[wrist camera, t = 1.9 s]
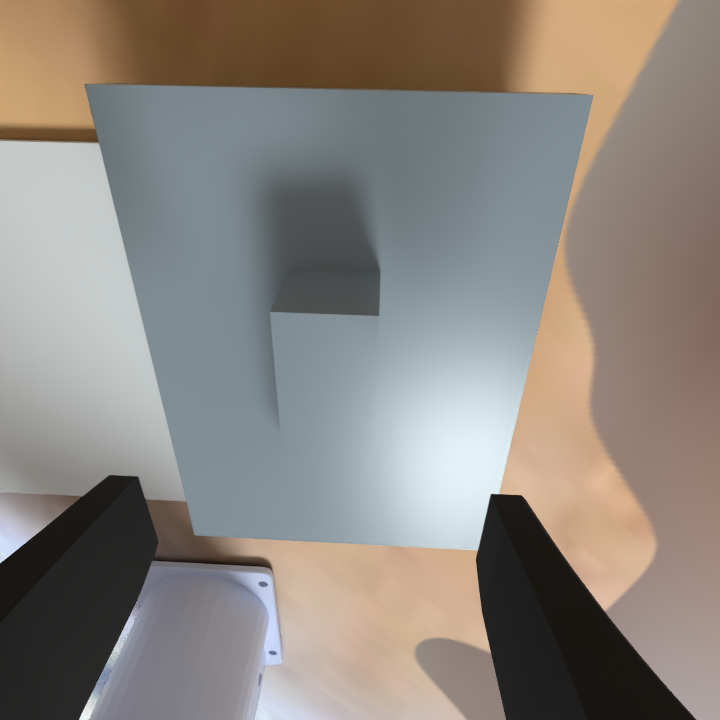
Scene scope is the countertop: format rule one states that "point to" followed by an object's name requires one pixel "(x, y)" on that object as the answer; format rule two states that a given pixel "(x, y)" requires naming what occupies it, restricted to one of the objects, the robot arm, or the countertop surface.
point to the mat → (72, 333)
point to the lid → (339, 294)
